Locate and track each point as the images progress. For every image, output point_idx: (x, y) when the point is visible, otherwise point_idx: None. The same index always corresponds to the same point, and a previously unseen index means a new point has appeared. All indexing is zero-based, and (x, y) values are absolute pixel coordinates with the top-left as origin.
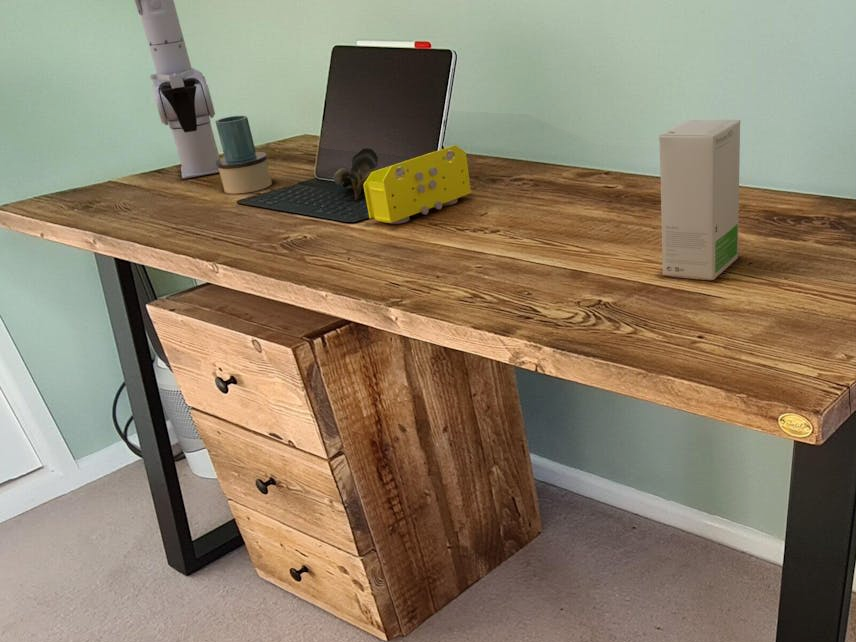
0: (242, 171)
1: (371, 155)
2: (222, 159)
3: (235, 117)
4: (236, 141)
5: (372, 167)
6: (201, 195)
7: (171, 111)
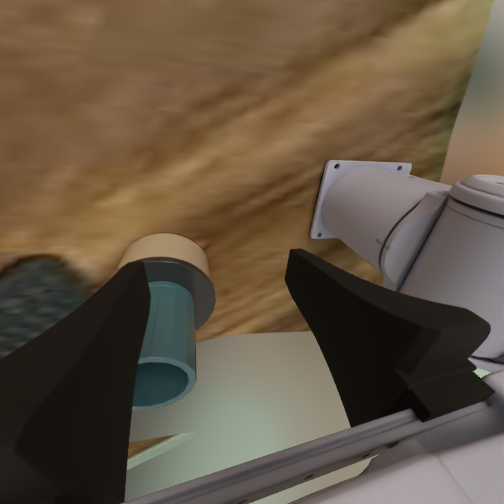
0: None
1: None
2: (177, 273)
3: (186, 383)
4: None
5: None
6: (156, 190)
7: (456, 228)
